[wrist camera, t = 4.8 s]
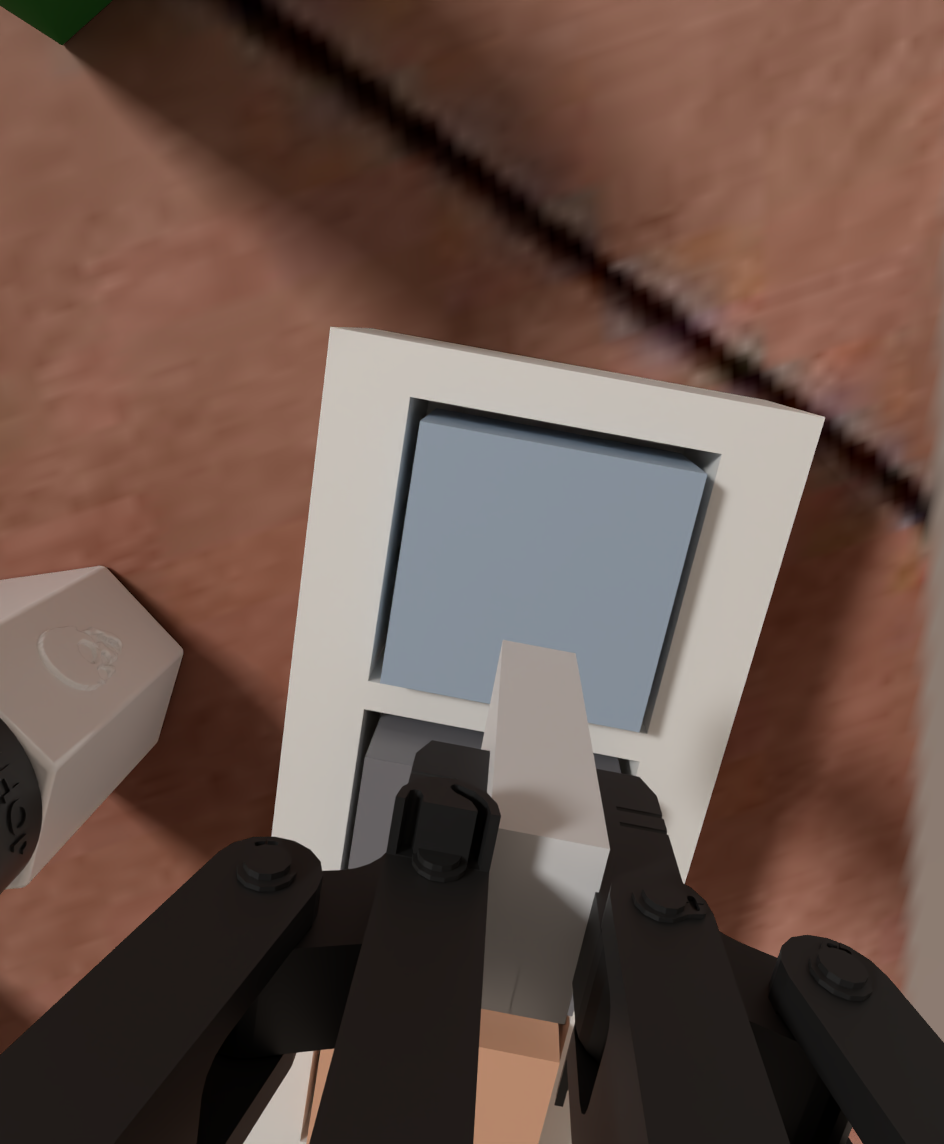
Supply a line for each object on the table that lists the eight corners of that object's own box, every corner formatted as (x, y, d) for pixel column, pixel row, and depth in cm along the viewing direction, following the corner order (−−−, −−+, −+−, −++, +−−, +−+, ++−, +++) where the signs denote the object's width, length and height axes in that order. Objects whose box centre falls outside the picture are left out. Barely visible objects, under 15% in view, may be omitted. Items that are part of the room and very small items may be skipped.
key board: (573, 1089, 37) (581, 1226, 32) (279, 1030, 38) (234, 1156, 32) (764, 399, 28) (825, 417, 22) (371, 328, 28) (330, 327, 22)
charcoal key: (566, 929, 30) (572, 1016, 26) (357, 888, 30) (332, 969, 26) (614, 742, 28) (628, 807, 24) (387, 698, 28) (364, 757, 24)
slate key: (624, 677, 28) (639, 732, 24) (400, 635, 28) (380, 683, 24) (681, 453, 26) (707, 474, 22) (436, 407, 26) (419, 421, 22)
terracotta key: (516, 1125, 33) (515, 1230, 29) (326, 1088, 33) (299, 1186, 29) (556, 971, 31) (559, 1062, 27) (351, 931, 31) (325, 1016, 27)
